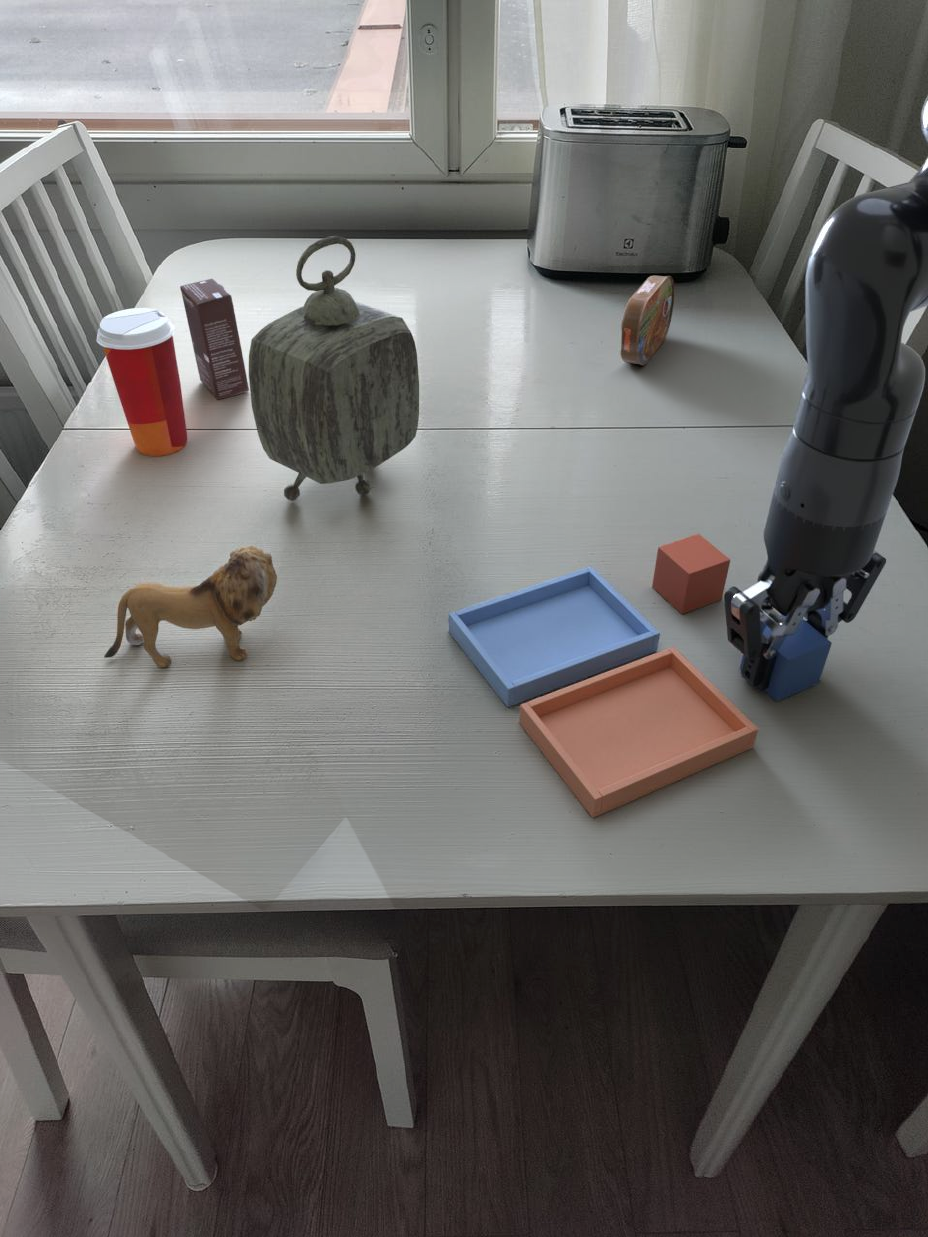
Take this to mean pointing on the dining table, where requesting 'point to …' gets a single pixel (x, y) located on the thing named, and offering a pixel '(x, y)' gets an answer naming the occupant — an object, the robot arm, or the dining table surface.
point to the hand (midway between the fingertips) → (779, 672)
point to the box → (215, 338)
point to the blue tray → (551, 635)
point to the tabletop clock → (333, 384)
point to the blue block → (797, 661)
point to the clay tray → (635, 729)
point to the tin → (647, 319)
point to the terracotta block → (690, 573)
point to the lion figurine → (200, 604)
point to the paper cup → (146, 377)
